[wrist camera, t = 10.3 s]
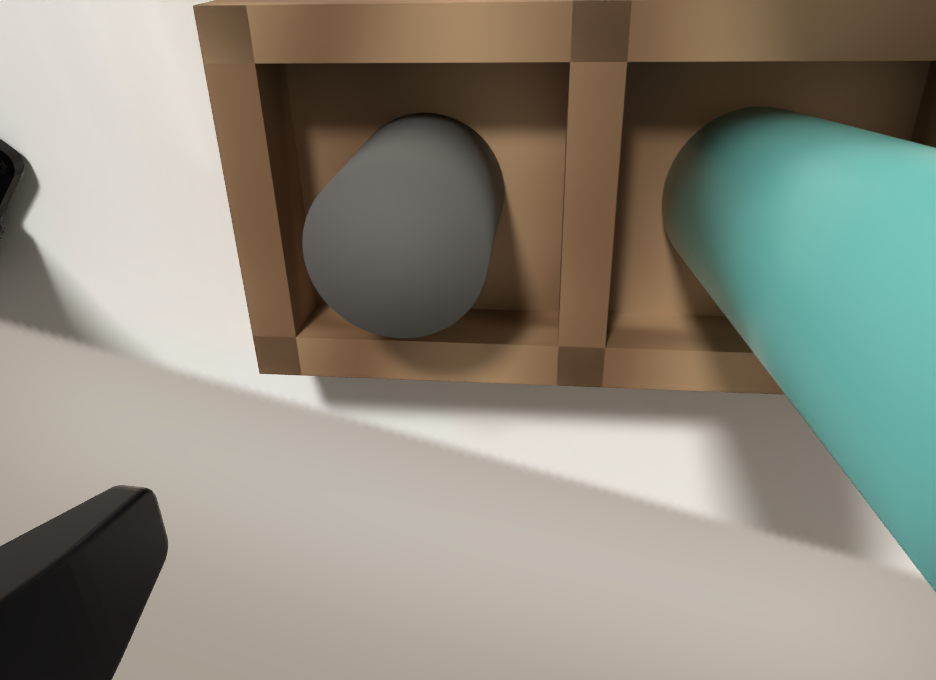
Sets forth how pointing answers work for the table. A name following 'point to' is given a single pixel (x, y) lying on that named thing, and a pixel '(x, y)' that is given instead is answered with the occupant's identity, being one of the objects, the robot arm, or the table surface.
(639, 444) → the table surface
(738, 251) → the teal rounded cylinder
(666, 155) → the tray
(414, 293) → the dark gray rounded cylinder
